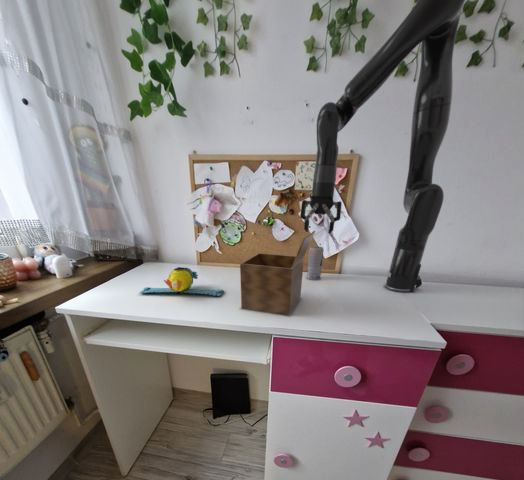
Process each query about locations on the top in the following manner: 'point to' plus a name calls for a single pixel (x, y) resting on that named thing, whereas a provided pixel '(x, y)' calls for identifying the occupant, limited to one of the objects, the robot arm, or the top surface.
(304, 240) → the flap
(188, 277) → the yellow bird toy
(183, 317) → the top surface
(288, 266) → the brown wooden open box
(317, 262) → the energy drink
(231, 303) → the top surface
